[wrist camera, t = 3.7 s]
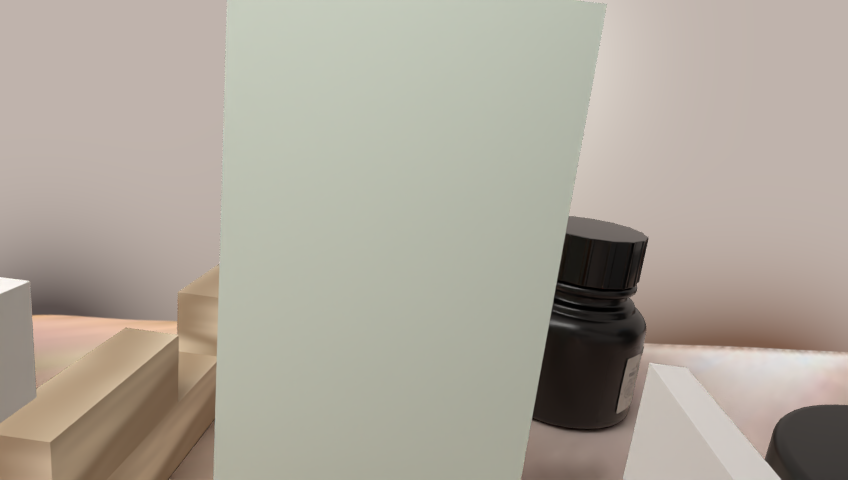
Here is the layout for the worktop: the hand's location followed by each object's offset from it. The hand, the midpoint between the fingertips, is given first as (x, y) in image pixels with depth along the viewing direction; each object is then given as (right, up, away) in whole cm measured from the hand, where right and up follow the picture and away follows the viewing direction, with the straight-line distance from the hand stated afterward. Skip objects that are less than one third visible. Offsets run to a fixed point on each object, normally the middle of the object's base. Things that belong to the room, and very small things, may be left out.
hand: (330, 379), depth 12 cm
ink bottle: (+11, -8, +27) cm, 31 cm away
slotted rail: (-11, -7, +18) cm, 23 cm away
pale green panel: (-1, -10, +11) cm, 15 cm away
